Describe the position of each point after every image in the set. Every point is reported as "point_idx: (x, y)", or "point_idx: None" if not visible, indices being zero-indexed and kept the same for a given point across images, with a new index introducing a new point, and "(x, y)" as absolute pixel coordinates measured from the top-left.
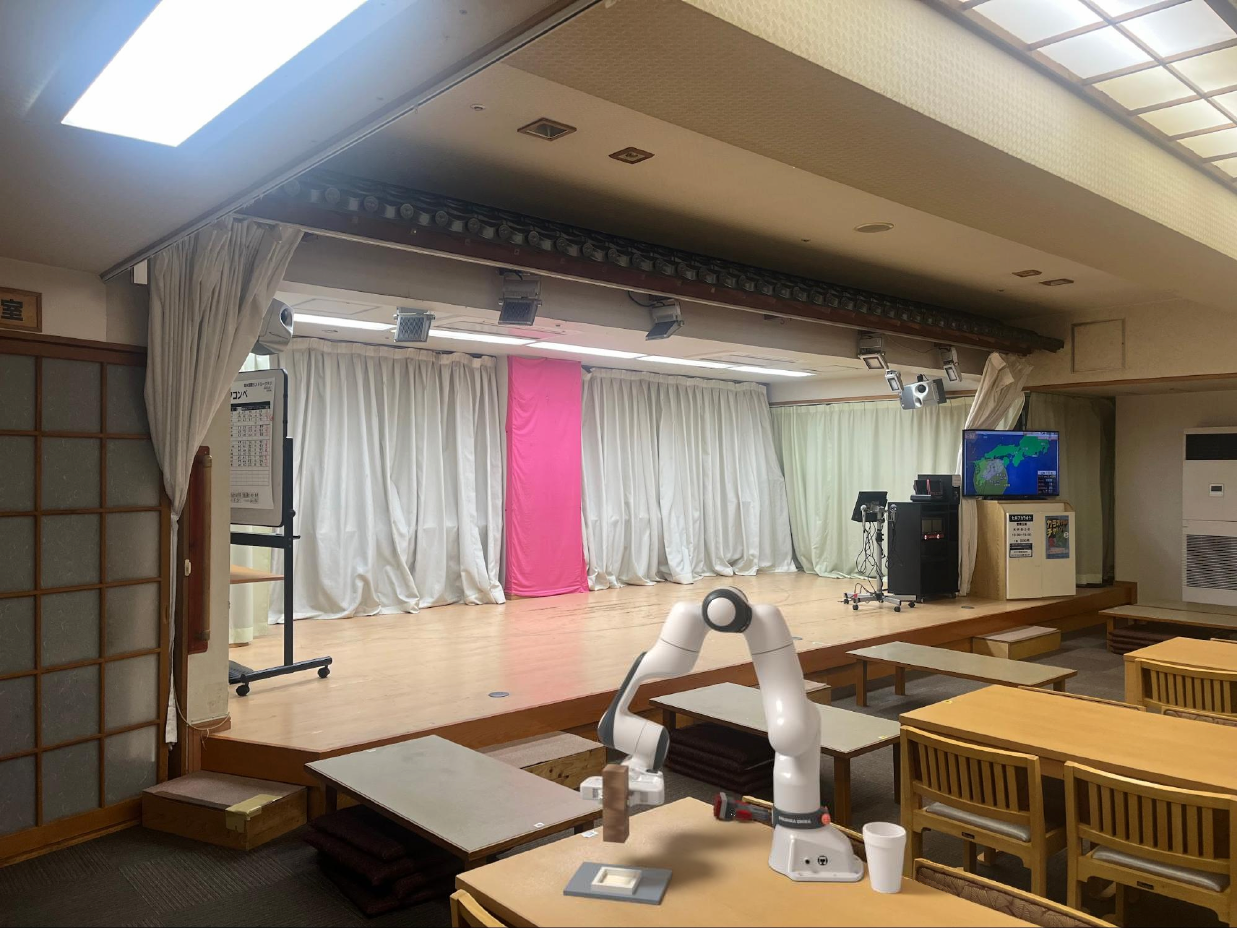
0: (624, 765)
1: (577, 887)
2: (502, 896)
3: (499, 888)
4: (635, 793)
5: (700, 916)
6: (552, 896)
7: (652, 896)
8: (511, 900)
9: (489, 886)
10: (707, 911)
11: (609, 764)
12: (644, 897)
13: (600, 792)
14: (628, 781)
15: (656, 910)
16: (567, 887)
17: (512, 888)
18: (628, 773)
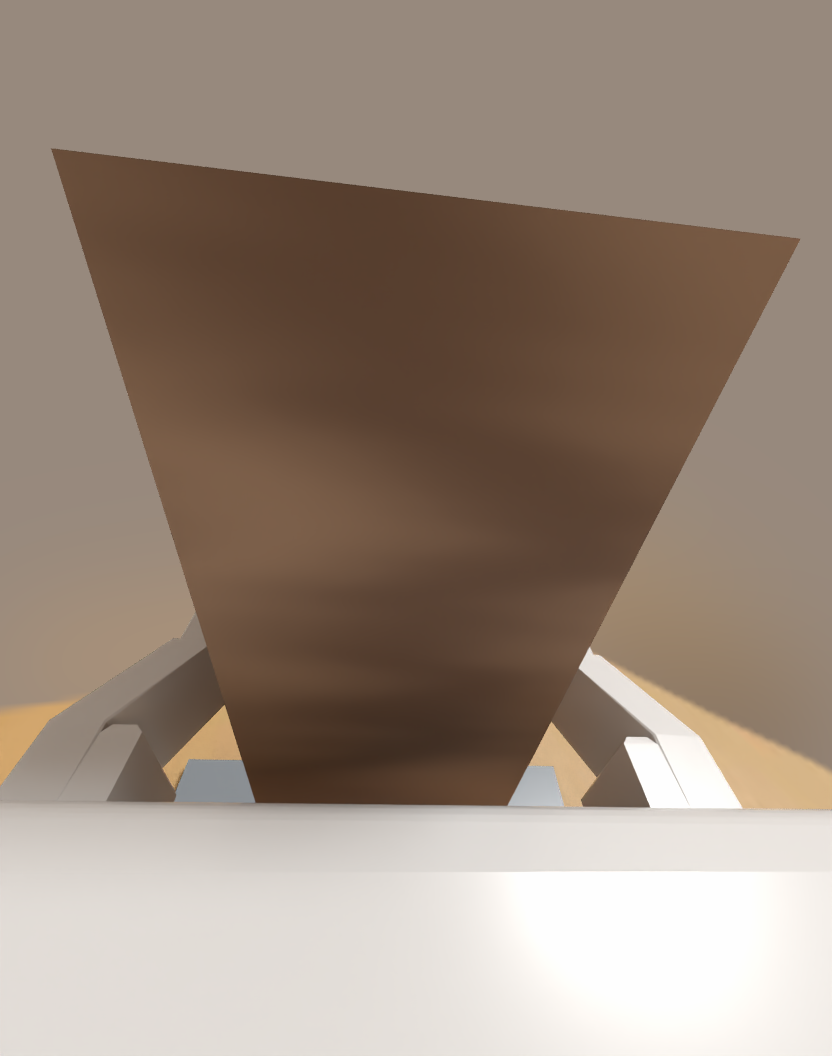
0: (220, 174)
1: (518, 804)
2: (707, 722)
3: (771, 776)
4: (115, 730)
5: (55, 714)
6: (574, 754)
7: (207, 788)
8: (662, 704)
9: (813, 784)
10: (5, 755)
11: (716, 234)
12: (242, 773)
13: (630, 698)
14: (196, 565)
15: (207, 726)
16: (553, 796)
17: (736, 786)
18: (148, 423)
